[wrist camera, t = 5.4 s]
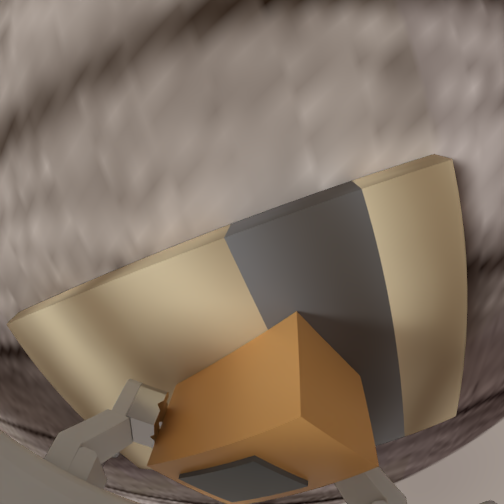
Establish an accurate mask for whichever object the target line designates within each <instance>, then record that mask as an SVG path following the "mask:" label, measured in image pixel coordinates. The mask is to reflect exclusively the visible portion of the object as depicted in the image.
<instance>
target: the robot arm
mask: <svg viewBox="0 0 504 504" xmlns="http://www.w3.org/2000/svg"><path fill="white" fill-rule="evenodd" d="M168 397H169V392H167V391H164V390H161V389H158V388H155V387H152V386H149V385H146V384H144V383H141V382H138V381H136V380H133V379H129V380H128V381H127V382H126V384H125V386H124V388H123V389H122V391H121V393H120V395H119V397H118V399H117V401H116V403H115V405H114V406H113V408H112V410H109V409H107V410H105V411H103V412H101V413H99V414H97V415H95V416H93V417H91V418H89V419H87V420H85V421H83V422H81V423H78V424H76V425H74V426H72V427H70V428H68V429H66V430H63V431H61V432H59V434H58V435H57V437H56V439H55V440H54V442H53V444H52V446H51V447H50V449H49V451H48V452H47V454H46V456H45V458H44V459H43V458H42V457H40V456H38V455H37V454H35V453H33V452H32V451H30V450H29V449H27V448H26V447H24V446H23V445H21V444H20V443H18V442H17V441H15V440H14V439H12V438H11V437H9V436H8V435H7V434H5V433H4V432H3V431H1V430H0V504H140V503H137V502H135V501H132V500H129V499H126V498H124V497H121V496H119V495H116V494H114V493H111V492H109V491H106V490H104V486H105V484H106V481H107V477H106V475H105V473H104V470H103V468H102V466H101V464H102V463H103V462H105V461H106V460H108V459H109V458H111V457H112V456H114V455H115V454H117V453H118V452H120V451H121V450H123V449H124V448H126V447H127V446H129V445H130V444H132V443H133V442H136V443H139V444H142V445H145V446H148V447H151V448H153V447H154V444H155V442H156V439H157V436H158V434H159V431H160V427H161V425H162V422H163V420H164V417H165V415H166V412H167V409H168V403H167V400H168ZM334 484H335V486H336V487H337V489H338V490H339V492H340V494H341V495H342V497H343V498H344V500H345V501H346V503H347V504H407V501H406V497H405V496H404V495H403V494H402V493H401V491H400V490H399V489H398V488H397V487H396V486H395V485H394V484H393V482H392V481H391V480H390V479H389V478H388V477H387V476H386V475H385V474H384V472H383V471H382V470H381V469H380V468H379V467H376V468H374V469H371V470H369V471H366V472H364V473H361V474H358V475H356V476H353V477H350V478H347V479H345V480H342V481H339V482H336V483H334ZM480 504H497V503H495V502H494V501H486V502H483V503H480Z"/></svg>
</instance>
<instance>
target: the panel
mask: <svg viewBox="0 0 504 504" xmlns="http://www.w3.org/2000/svg"><path fill="white" fill-rule="evenodd" d="M296 311H297V312H298V313H299V314H300V315H301V316H302V317H303V318H304V319H305V320H306V321H307V322H308V323H309V324H310V325H311V326H312V328H313V329H314V330H315V331H316V332H317V333H318V334H319V335H320V336H321V337H322V338H323V339H324V340H325V341H326V342H327V343H328V344H329V345H330V346H331V347H332V348H333V349H334V350H335V351H336V352H337V353H338V354H339V355H340V356H341V357H342V358H343V359H344V360H345V361H346V362H347V363H348V364H349V365H350V366H351V367H352V368H353V369H354V370H355V371H356V372H357V373H358V374H359V375H360V377H361V381H362V385H363V390H364V394H365V399H366V403H367V408H368V412H369V417H370V422H371V427H372V432H373V437H374V442H375V446H377V445H380V444H384V443H387V442H390V441H393V440H396V439H399V438H402V437H405V436H408V435H411V434H414V433H416V432H419V431H422V430H424V429H427V428H429V427H432V426H434V425H437V424H439V423H442V422H444V421H446V420H449V419H451V418H453V417H455V416H456V413H457V408H458V402H459V396H460V390H461V383H462V375H463V367H464V357H465V345H466V329H467V266H466V250H465V238H464V228H463V220H462V212H461V205H460V198H459V192H458V186H457V181H456V175H455V170H454V165H453V161H452V159H449V158H446V157H442V156H439V155H435V154H433V155H430V156H427V157H423V158H420V159H417V160H414V161H411V162H408V163H404V164H401V165H398V166H395V167H392V168H389V169H386V170H383V171H380V172H377V173H374V174H371V175H368V176H365V177H362V178H359V179H356V180H353V181H350V182H347V183H344V184H341V185H338V186H335V187H332V188H329V189H327V190H324V191H321V192H318V193H315V194H312V195H309V196H307V197H304V198H301V199H298V200H295V201H293V202H290V203H287V204H284V205H281V206H279V207H276V208H273V209H270V210H268V211H265V212H262V213H260V214H257V215H254V216H251V217H249V218H246V219H243V220H241V221H238V222H235V223H233V224H230V225H227V226H225V227H222V228H220V229H217V230H214V231H212V232H209V233H207V234H204V235H201V236H199V237H196V238H194V239H191V240H189V241H186V242H183V243H181V244H178V245H176V246H173V247H171V248H168V249H166V250H163V251H161V252H158V253H156V254H153V255H151V256H148V257H146V258H143V259H141V260H139V261H136V262H134V263H131V264H129V265H126V266H124V267H122V268H119V269H117V270H114V271H112V272H110V273H107V274H105V275H103V276H100V277H98V278H95V279H93V280H91V281H88V282H86V283H84V284H81V285H79V286H77V287H75V288H72V289H70V290H68V291H65V292H63V293H61V294H59V295H56V296H54V297H52V298H49V299H47V300H45V301H43V302H41V303H38V304H36V305H34V306H32V307H29V308H27V309H25V310H23V311H21V312H19V313H18V314H17V315H16V316H15V317H13V318H12V319H11V320H10V321H9V322H8V323H7V326H8V327H9V329H10V330H11V332H12V333H13V335H14V336H15V338H16V339H17V341H18V342H19V343H20V345H21V346H22V348H23V349H24V350H25V352H26V353H27V354H28V356H29V357H30V358H31V360H32V361H33V362H34V364H35V365H36V366H37V367H38V369H39V370H40V371H41V372H42V374H43V375H44V376H45V377H46V379H47V380H48V381H49V382H50V383H51V384H52V386H53V387H54V388H55V389H56V390H57V391H58V393H59V394H60V395H61V396H62V397H63V398H64V399H65V400H66V401H67V402H68V404H69V405H70V406H71V407H72V408H73V409H74V410H75V411H76V412H77V413H78V414H79V415H80V416H81V417H82V418H83V419H84V420H87V419H89V418H91V417H93V416H95V415H97V414H99V413H101V412H103V411H105V410H107V409H109V410H112V408H113V406H114V405H115V403H116V401H117V399H118V397H119V395H120V393H121V391H122V389H123V388H124V386H125V384H126V382H127V381H128V380H129V379H133V380H136V381H138V382H141V383H144V384H146V385H149V386H152V387H155V388H158V389H161V390H164V391H167V392H169V397H168V400H167V403H168V405H169V403H170V400H171V397H172V395H173V392H174V389H175V387H176V385H177V384H178V383H180V382H182V381H184V380H186V379H187V378H189V377H191V376H193V375H194V374H196V373H198V372H200V371H201V370H203V369H205V368H207V367H208V366H210V365H212V364H213V363H215V362H217V361H218V360H220V359H222V358H223V357H225V356H227V355H228V354H230V353H232V352H233V351H235V350H237V349H238V348H240V347H242V346H243V345H245V344H246V343H248V342H250V341H251V340H253V339H254V338H256V337H258V336H259V335H261V334H262V333H264V332H265V331H267V330H269V329H270V328H272V327H273V326H275V325H276V324H278V323H279V322H281V321H282V320H284V319H286V318H287V317H289V316H290V315H292V314H293V313H295V312H296ZM152 450H153V448H151V447H148V446H145V445H142V444H139V443H136V442H133V443H132V444H130V445H129V446H127V447H126V448H124V449H123V450H121V451H120V453H121V454H122V455H123V456H125V457H126V458H127V459H128V460H130V461H131V462H132V463H133V464H135V465H136V466H137V467H138V468H142V469H151V468H149V467H148V466H147V464H148V461H149V458H150V455H151V452H152Z"/></svg>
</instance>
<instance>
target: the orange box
mask: <svg viewBox="0 0 504 504" xmlns="http://www.w3.org/2000/svg"><path fill="white" fill-rule="evenodd" d="M147 466H148V467H149V468H151V469H153V470H155V471H157V472H159V473H160V474H162V475H164V476H166V477H168V478H170V479H172V480H174V481H176V482H178V483H180V484H182V485H184V486H186V487H188V488H191V489H193V490H195V491H197V492H199V493H202V494H204V495H206V496H209V497H211V498H213V499H216V500H218V501H221V502H224V503H226V504H249V503H255V502H261V501H266V500H271V499H276V498H281V497H285V496H289V495H294V494H298V493H302V492H305V491H309V490H313V489H316V488H320V487H323V486H326V485H329V484H333V483H336V482H339V481H342V480H345V479H347V478H350V477H353V476H356V475H358V474H361V473H364V472H366V471H369V470H371V469H374V468H376V467H379V464H378V458H377V453H376V447H375V442H374V437H373V432H372V427H371V422H370V417H369V412H368V408H367V403H366V399H365V394H364V390H363V385H362V381H361V377H360V375H359V374H358V373H357V372H356V371H355V370H354V369H353V368H352V367H351V366H350V365H349V364H348V363H347V362H346V361H345V360H344V359H343V358H342V357H341V356H340V355H339V354H338V353H337V352H336V351H335V350H334V349H333V348H332V347H331V346H330V345H329V344H328V343H327V342H326V341H325V340H324V339H323V338H322V337H321V336H320V335H319V334H318V333H317V332H316V331H315V330H314V329H313V328H312V326H311V325H310V324H309V323H308V322H307V321H306V320H305V319H304V318H303V317H302V316H301V315H300V314H299V313H298V312H297V311H296V312H295V313H293V314H292V315H290V316H289V317H287V318H286V319H284V320H282V321H281V322H279V323H278V324H276V325H275V326H273V327H272V328H270V329H269V330H267V331H265V332H264V333H262V334H261V335H259V336H258V337H256V338H254V339H253V340H251V341H250V342H248V343H246V344H245V345H243V346H242V347H240V348H238V349H237V350H235V351H233V352H232V353H230V354H228V355H227V356H225V357H223V358H222V359H220V360H218V361H217V362H215V363H213V364H212V365H210V366H208V367H207V368H205V369H203V370H201V371H200V372H198V373H196V374H194V375H193V376H191V377H189V378H187V379H186V380H184V381H182V382H180V383H178V384H177V385H176V387H175V389H174V392H173V395H172V397H171V400H170V403H169V405H168V409H167V412H166V415H165V417H164V420H163V422H162V425H161V427H160V431H159V434H158V436H157V439H156V442H155V444H154V447H153V450H152V452H151V455H150V458H149V461H148V464H147Z"/></svg>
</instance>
